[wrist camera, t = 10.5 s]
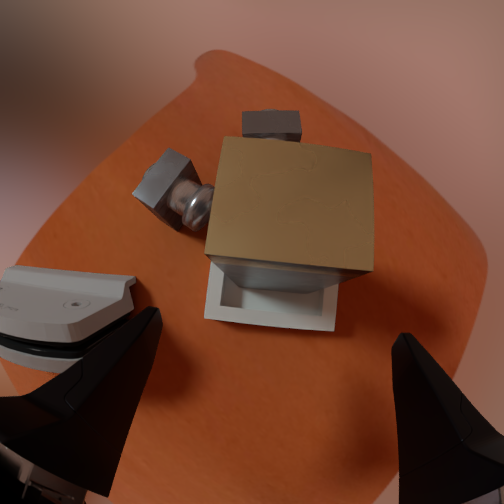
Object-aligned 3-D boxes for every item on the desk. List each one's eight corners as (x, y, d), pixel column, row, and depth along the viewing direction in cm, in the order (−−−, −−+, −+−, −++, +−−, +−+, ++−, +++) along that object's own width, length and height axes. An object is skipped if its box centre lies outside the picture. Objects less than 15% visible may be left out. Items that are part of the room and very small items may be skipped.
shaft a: (296, 197, 23) (306, 164, 17) (247, 198, 23) (242, 165, 17) (291, 145, 24) (298, 105, 18) (245, 146, 24) (241, 106, 18)
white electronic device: (139, 276, 22) (66, 319, 12) (144, 329, 23) (84, 393, 13) (14, 264, 23) (-53, 285, 13) (20, 306, 23) (-41, 335, 13)
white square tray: (335, 216, 22) (342, 207, 20) (327, 329, 21) (334, 331, 19) (224, 204, 23) (221, 194, 21) (209, 317, 21) (204, 318, 19)
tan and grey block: (310, 241, 21) (370, 153, 9) (306, 294, 21) (373, 271, 8) (245, 234, 22) (224, 136, 9) (238, 287, 21) (204, 253, 8)
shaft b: (230, 207, 23) (221, 176, 17) (201, 248, 22) (182, 228, 17) (183, 178, 23) (163, 144, 18) (155, 216, 23) (127, 190, 17)
